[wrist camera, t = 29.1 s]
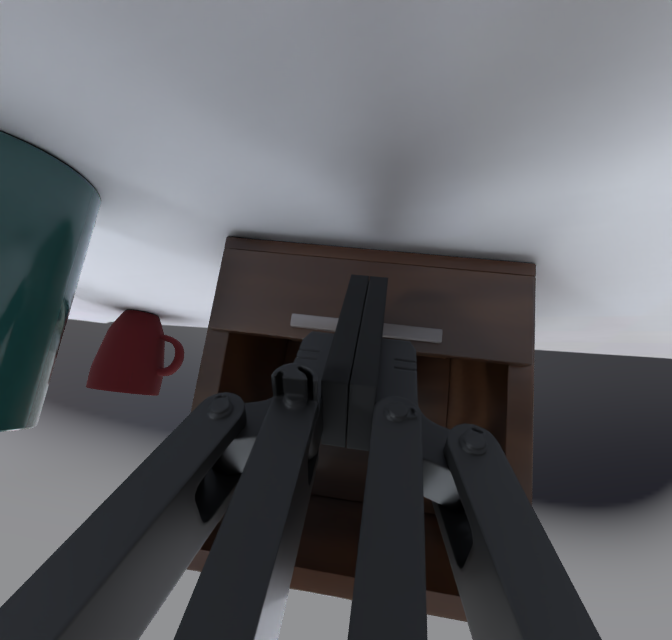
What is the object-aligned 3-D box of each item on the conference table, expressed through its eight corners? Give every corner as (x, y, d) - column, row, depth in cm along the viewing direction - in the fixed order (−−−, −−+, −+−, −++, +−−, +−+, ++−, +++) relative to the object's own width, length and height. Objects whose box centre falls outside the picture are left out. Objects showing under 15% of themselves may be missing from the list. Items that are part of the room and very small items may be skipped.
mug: (167, 309, 43) (147, 396, 41) (203, 324, 51) (188, 398, 49) (91, 302, 46) (68, 385, 44) (137, 318, 53) (119, 389, 51)
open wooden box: (226, 236, 20) (158, 564, 17) (536, 263, 19) (530, 634, 15) (282, 304, 34) (251, 493, 30) (464, 323, 32) (453, 526, 29)
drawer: (221, 244, 19) (204, 326, 18) (538, 273, 17) (537, 364, 16) (282, 312, 32) (274, 360, 32) (462, 331, 31) (459, 383, 30)
